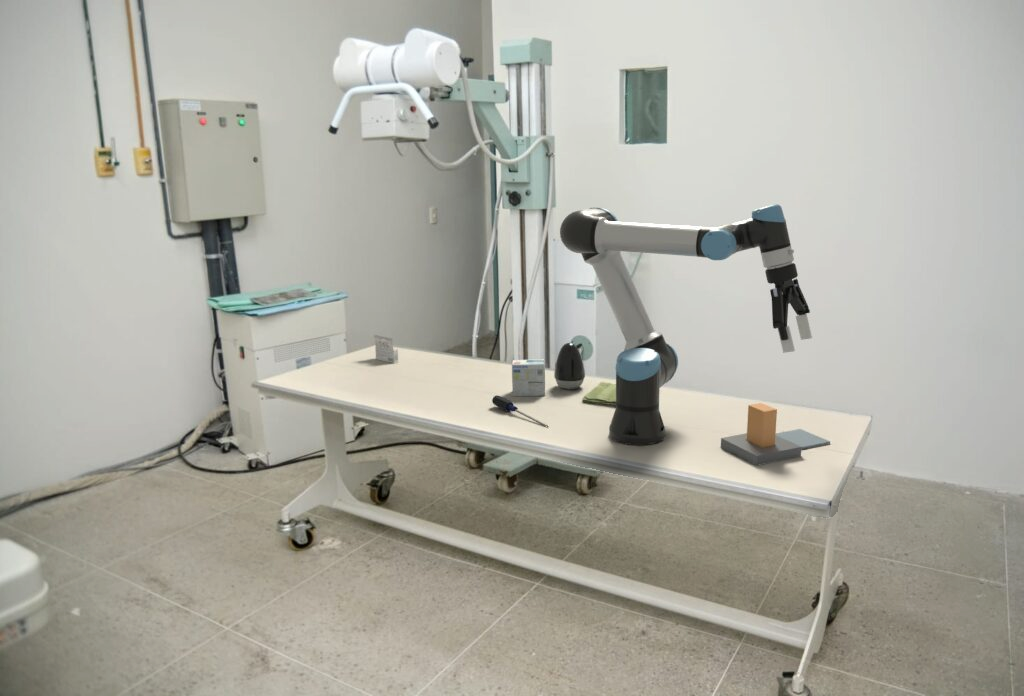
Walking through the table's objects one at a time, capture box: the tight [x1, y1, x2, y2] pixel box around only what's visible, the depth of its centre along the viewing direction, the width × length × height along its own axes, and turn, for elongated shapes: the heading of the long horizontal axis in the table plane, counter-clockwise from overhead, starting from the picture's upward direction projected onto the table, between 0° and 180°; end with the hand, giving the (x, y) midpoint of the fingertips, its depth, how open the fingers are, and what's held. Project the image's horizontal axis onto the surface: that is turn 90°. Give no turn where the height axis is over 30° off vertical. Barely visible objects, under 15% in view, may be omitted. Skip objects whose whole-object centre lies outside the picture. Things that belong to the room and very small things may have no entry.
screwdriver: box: [491, 395, 550, 428], centre depth 234 cm, size 26×4×4 cm, turn 37°
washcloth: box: [581, 381, 616, 406], centre depth 251 cm, size 13×18×3 cm
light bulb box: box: [511, 358, 546, 397], centre depth 256 cm, size 11×7×11 cm, turn 88°
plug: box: [746, 402, 778, 448], centre depth 202 cm, size 4×6×12 cm, turn 23°
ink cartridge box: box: [373, 334, 399, 364], centre depth 302 cm, size 2×11×10 cm, turn 48°
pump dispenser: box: [553, 342, 586, 390], centre depth 261 cm, size 10×10×15 cm
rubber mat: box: [775, 428, 831, 450], centre depth 210 cm, size 11×11×1 cm
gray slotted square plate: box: [720, 432, 802, 466], centre depth 203 cm, size 14×14×2 cm
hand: (798, 345), depth 204 cm, fingers open, 13 cm apart
